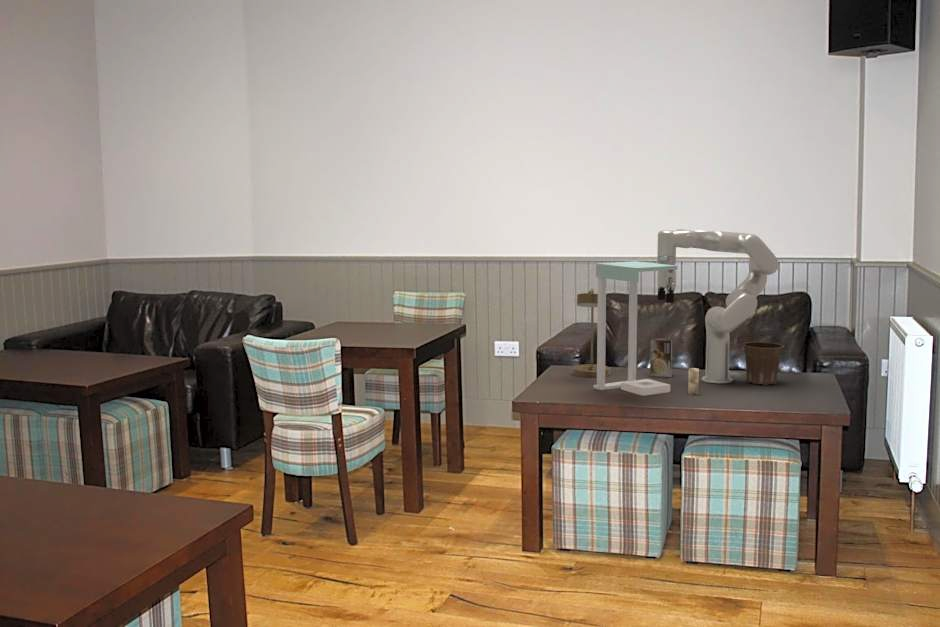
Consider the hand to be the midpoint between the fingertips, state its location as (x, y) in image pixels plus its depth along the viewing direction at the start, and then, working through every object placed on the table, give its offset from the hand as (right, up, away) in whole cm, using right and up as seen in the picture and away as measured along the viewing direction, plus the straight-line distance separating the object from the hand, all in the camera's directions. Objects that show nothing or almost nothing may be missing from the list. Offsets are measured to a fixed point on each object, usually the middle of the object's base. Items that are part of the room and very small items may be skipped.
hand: (665, 301), depth 404 cm
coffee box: (+2, -32, +20) cm, 38 cm away
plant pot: (+41, -34, +4) cm, 54 cm away
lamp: (-29, -33, +21) cm, 48 cm away
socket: (-10, -36, -11) cm, 39 cm away
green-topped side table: (-15, -37, -12) cm, 41 cm away
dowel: (+8, -37, -16) cm, 41 cm away
